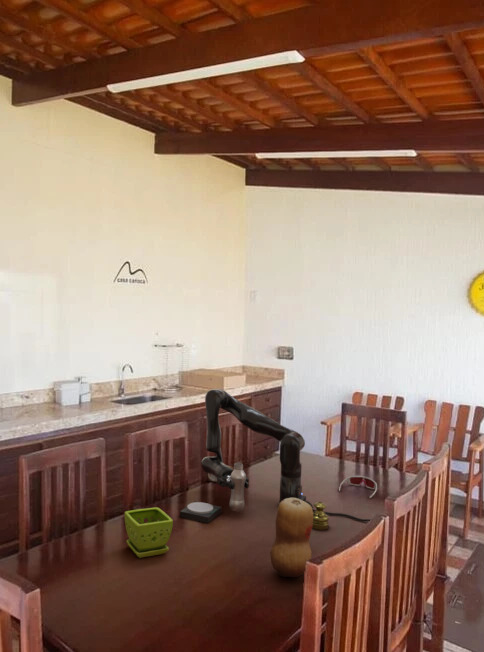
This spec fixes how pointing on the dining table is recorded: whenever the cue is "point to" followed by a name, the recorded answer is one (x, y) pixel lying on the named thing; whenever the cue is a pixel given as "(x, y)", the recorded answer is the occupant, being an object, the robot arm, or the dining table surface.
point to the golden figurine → (320, 517)
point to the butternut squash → (292, 537)
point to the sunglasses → (359, 479)
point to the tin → (212, 477)
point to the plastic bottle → (237, 488)
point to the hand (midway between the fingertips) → (240, 486)
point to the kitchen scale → (201, 512)
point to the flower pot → (148, 531)
